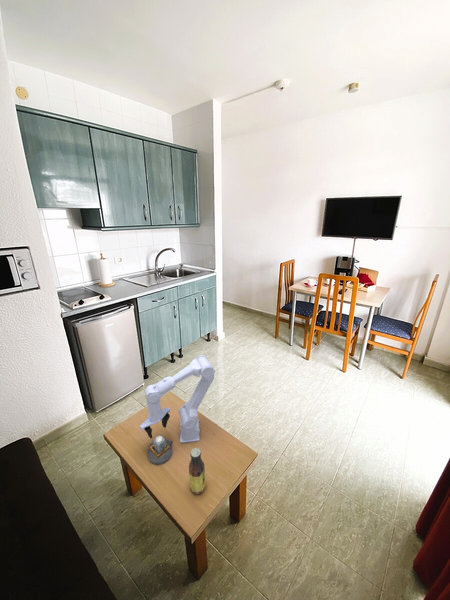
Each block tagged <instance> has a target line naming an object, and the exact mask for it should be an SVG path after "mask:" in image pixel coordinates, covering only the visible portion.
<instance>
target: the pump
mask: <svg viewBox="0 0 450 600" xmlns="http://www.w3.org/2000/svg"><path fill="white" fill-rule="evenodd" d="M164 438H165V437H163V435H162V434H159V435H158V436H156V437H155V438H153V439H152V442H153V444H154V450H155V451H156V452H157V453H158V454H160V453H161V452H162V451H163V450H164V449H166V440H165V439H166V438H165V439H164Z"/></svg>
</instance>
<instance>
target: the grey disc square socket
mask: <svg viewBox="0 0 450 600" xmlns="http://www.w3.org/2000/svg"><path fill="white" fill-rule="evenodd" d="M163 438H164V439H165V440H166V449H164V450H163V451H162V452H161V453H160V454H158V453H157V452H156V451H155V450H154V444H153V441H152V442H151V443H150V445H148V448H147V456H148V461H149V462H150V463H151V464H153V465H154V466H155V465H156V466H160V465H164V464H165V463H167V462H168V461H169V460H170V459H171V457H172V456H173V445H172V444H173V440H170V439H167V438H165V437H163Z"/></svg>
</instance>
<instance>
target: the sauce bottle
mask: <svg viewBox="0 0 450 600" xmlns="http://www.w3.org/2000/svg"><path fill="white" fill-rule="evenodd" d="M189 454H190V458H191V459H190V461H189V464H188V473H189V474H188V475H189V476H188V477H189V487H190V490H191V492H192V493H193V494H194V495H201V494H202V493H203V492H204V491H205V489H206V469H205V463H204V461H203V459H202V456H201V455H202V452H201V449H200V448H199V447H194V448H192V449H191V450H190V453H189Z"/></svg>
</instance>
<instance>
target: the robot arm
mask: <svg viewBox="0 0 450 600" xmlns="http://www.w3.org/2000/svg"><path fill="white" fill-rule="evenodd" d="M215 373H216V370H215V368H214V367H213V366H212V364H211V363H210V361H209V359H208V357H207V356H206V355H204V354H202V355H198V356H197V357H196V358H193V359H192V361H191V363H189V365H187V366H185V368H183V369H181V370H179V372H177V373H176V374H174V375H173V376H171V375H169V376H168V375H167V376H166V377H163V378H162V379H161V380H160V381H158V382H157V383H154V384H149V385H148V386H147V387H146V388H145V390H144V394H145V399H146V408H147V414H148V417H147V418H146V419H145V420H144V421H143V422H142V423H141V424H140V425H139V428H140V430H141V431H142V432H143V431H145V432H146V433H147V436H148V437H149V439H153V428H152V427H151V426H153V425H155V424H159V423H160V422H161V426H162V427H163V428H164V429H166V428H167V426H168V425H167V424H168V421H169V419H170V418H171V415H170V414H169V413H170V412H171V409H170V407H168V406H166V407H165V408H162V405H161V398H162V397H163V396H164V395H165V394H167V393H168V392H170V391H172V390H173V389H175V388H176V385H177V384H178V383H180V382H183V380H186V379H187V378H189V377H191V376H193V377H198V378H200V377H201V378H200V380H199V382H198V384H197V385H196V387H195V390H194V391H193V393H192V394H191V397H190V398H189V400H188V401H187V402H184V403H183V405H182V406H181V407H180V408H179V410H178V415H179V416H180V421H179V424H180V426H179V427H180V436H179V438H180V439H179V443H181V444H182V443H183V444H184V443H191V442H198V441H201V440H200V438H201V437H200V434H201V429H200V423H199V422H200V420H199V418H198V409H199V406H200V404H202V402H203V399H204V398H205V396H206V394H207V392H208V391H209V389H210V387H211V385H212V383H213V382H214V380H215Z"/></svg>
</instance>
